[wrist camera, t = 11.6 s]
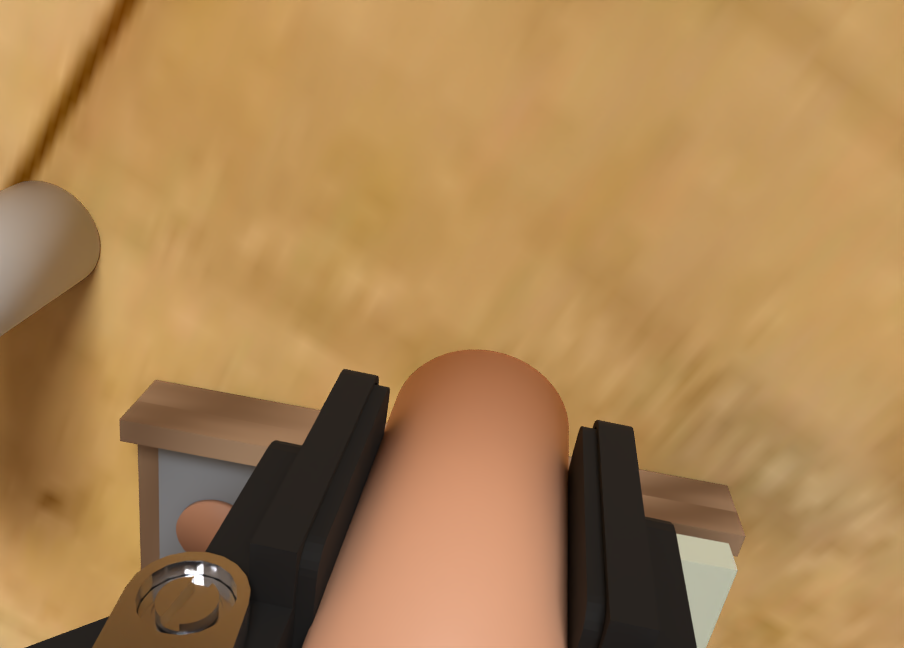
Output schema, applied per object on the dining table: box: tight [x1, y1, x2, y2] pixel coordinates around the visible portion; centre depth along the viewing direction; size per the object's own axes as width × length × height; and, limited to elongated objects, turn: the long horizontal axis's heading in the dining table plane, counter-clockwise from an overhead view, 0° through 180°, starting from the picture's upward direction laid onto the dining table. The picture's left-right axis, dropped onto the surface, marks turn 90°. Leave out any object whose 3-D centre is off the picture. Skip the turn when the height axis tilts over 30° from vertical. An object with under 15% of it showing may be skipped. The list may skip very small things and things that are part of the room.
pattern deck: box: [120, 380, 745, 570], centre depth 24 cm, size 17×8×2 cm, turn 81°
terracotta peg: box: [302, 350, 569, 648], centre depth 10 cm, size 4×4×8 cm
